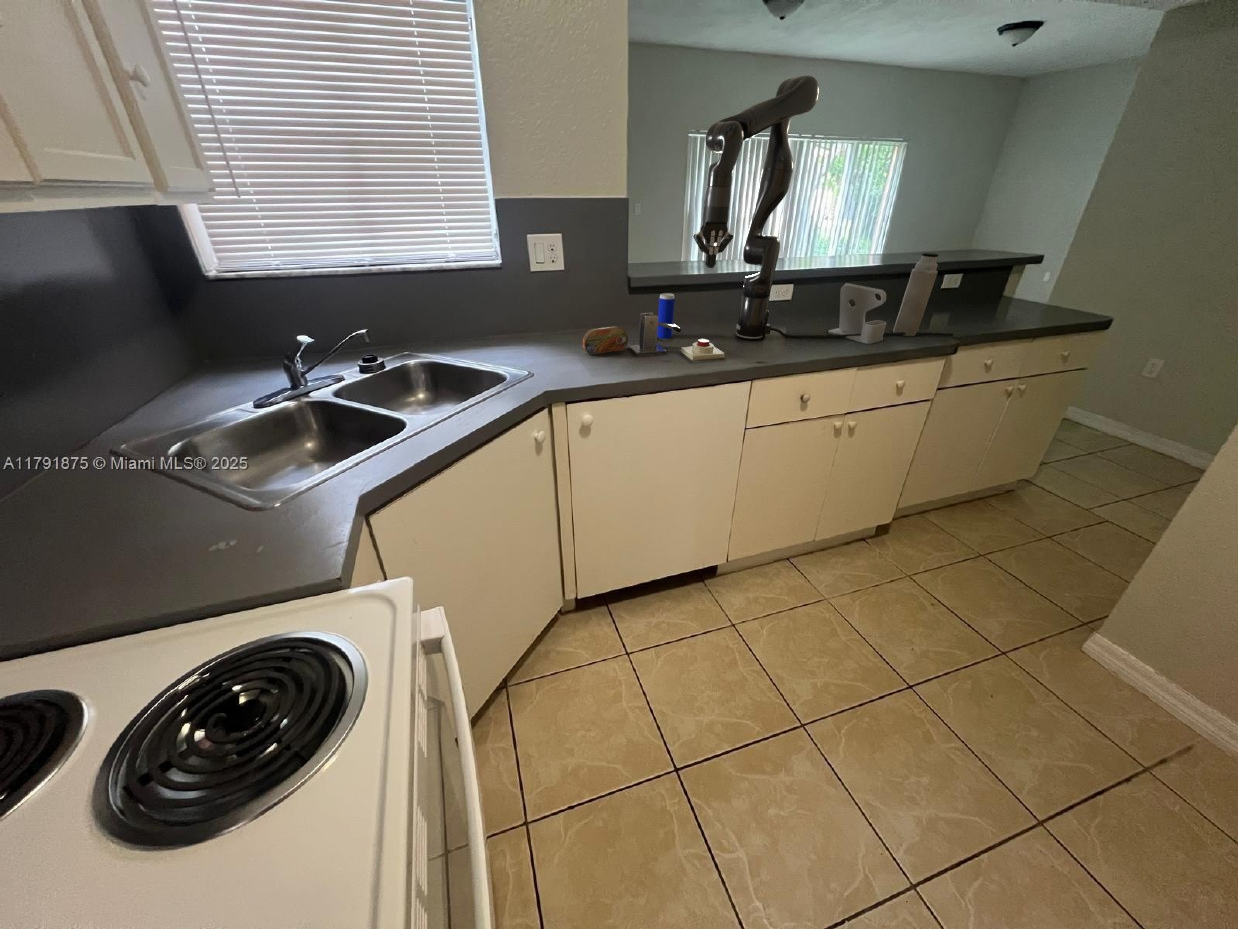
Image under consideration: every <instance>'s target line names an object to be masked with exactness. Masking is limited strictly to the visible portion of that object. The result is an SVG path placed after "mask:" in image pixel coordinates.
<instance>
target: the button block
mask: <svg viewBox="0 0 1238 929" xmlns="http://www.w3.org/2000/svg"><path fill="white" fill-rule="evenodd" d="M680 353H682V354H683V355H684V356H686V357H687V358H688V359H690V360H691V361H700V360H701V361H702V360H711V359H723V358H726V357H725V356H726V353H725V352H724V351H722V350H720V349H719V348H717V347H716V346H714V344H713V343H712V342H709V346H708V347H701V346H698V341H696V342H693V343H692V346H684V347H683V346H682V347H680Z"/></svg>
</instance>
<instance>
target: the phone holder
mask: <svg viewBox="0 0 1238 929" xmlns="http://www.w3.org/2000/svg"><path fill="white" fill-rule="evenodd" d="M839 294H840V296H839V297H840V299H839V325H838V326H839V327H837V328H833V329H829V330H828V334H829V335H845V334H861V335H860V336H846V337H843V338H845V339H848V340H852V341H856V342H858V343H863V344H867V345H871V344H875V343H879V342H882V341H883V340H884V335H883V334H884V333H885V331H886V327H887V322H886V321H885V320H880V319H876V320H875V319H874V320H871V321H867V322H866V313H867V312H869V311H871V310H873V309H876V308H878V307H880V306H882V305H883V304H885V302H886V301H887V293H886V291H884V290H883V289H880V288H876V287H869V286H866V285H859V284H855V283H847V282H846V283H845V284H843V285H842V286H841V287H840V293H839ZM876 294H877V295H879V296H880V300H879V299H877V297H876ZM851 300H852V301H853V302H854V306H852V305H851V304H850V301H851Z"/></svg>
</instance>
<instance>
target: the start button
mask: <svg viewBox="0 0 1238 929" xmlns="http://www.w3.org/2000/svg"><path fill="white" fill-rule="evenodd" d="M697 342H698V346H701V347H708V346H709V343H711V341H710V339H708V338H700V339H697Z"/></svg>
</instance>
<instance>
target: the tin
mask: <svg viewBox="0 0 1238 929" xmlns="http://www.w3.org/2000/svg"><path fill="white" fill-rule="evenodd" d="M628 342H629V336H628V333H627V331H626V330H625V329H624V328H623V327H620V326H615V325H613V326H608V327H607V326H606V327H600V328H599V327H598V328H592V329H589V330H588V331H586V333H584V336H583V338H582V347H583V350H584V352H585V353H586V354H588V355H589V356H592V355H599V354H605V353H611V352H619V351H624V350H625V349H626V348H627V346H628Z"/></svg>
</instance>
